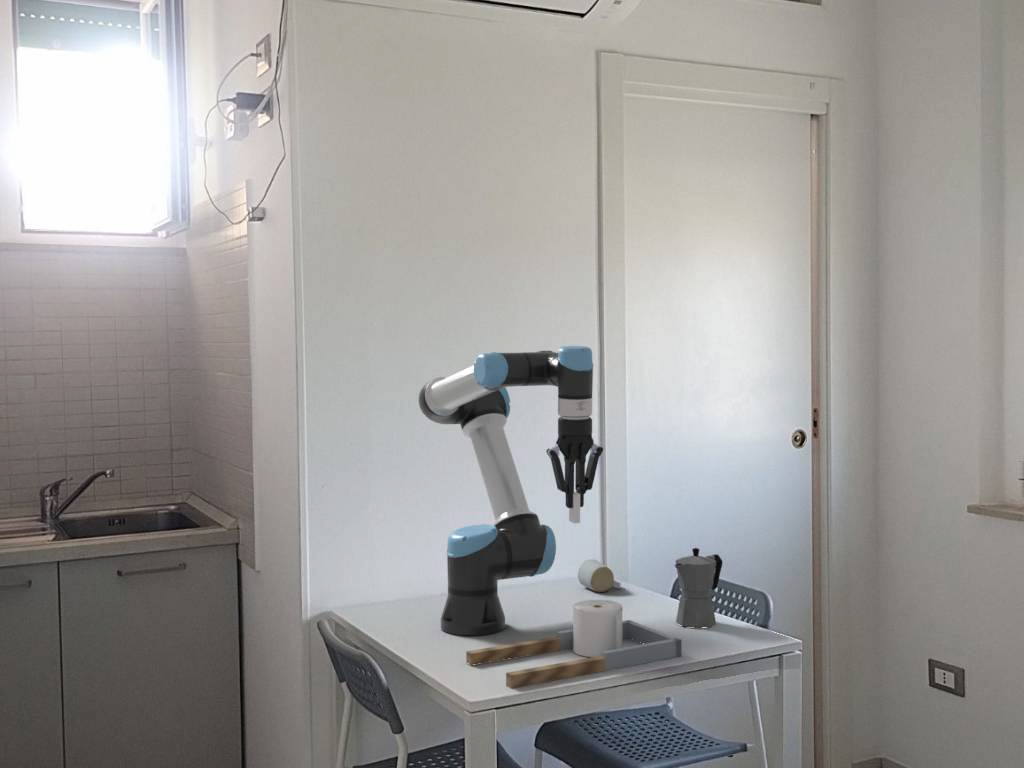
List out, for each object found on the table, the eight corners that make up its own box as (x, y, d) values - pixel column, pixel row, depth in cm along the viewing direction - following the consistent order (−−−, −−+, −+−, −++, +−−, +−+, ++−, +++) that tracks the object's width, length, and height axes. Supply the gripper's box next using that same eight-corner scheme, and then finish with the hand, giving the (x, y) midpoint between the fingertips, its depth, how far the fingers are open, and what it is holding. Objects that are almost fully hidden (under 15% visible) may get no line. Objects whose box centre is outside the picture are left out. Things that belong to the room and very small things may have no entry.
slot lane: (511, 688, 215) (511, 675, 214) (466, 663, 231) (466, 651, 231) (605, 670, 225) (605, 658, 225) (556, 647, 242) (556, 636, 242)
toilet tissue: (586, 641, 247) (586, 597, 246) (636, 649, 241) (636, 603, 240) (564, 654, 237) (564, 607, 237) (615, 662, 231) (615, 614, 231)
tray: (605, 670, 225) (605, 653, 225) (556, 647, 242) (555, 632, 242) (681, 656, 235) (681, 639, 235) (629, 635, 252) (629, 620, 251)
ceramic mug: (591, 594, 291) (591, 565, 291) (577, 588, 299) (577, 559, 298) (626, 591, 296) (626, 562, 295) (611, 585, 303) (611, 557, 303)
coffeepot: (691, 632, 253) (690, 554, 252) (661, 624, 261) (661, 548, 260) (736, 621, 263) (736, 546, 262) (706, 614, 270) (706, 540, 269)
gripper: (554, 420, 237) (553, 528, 240) (609, 417, 242) (608, 523, 245) (541, 415, 244) (541, 520, 247) (595, 412, 249) (594, 515, 252)
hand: (574, 521), depth 246 cm, fingers closed
